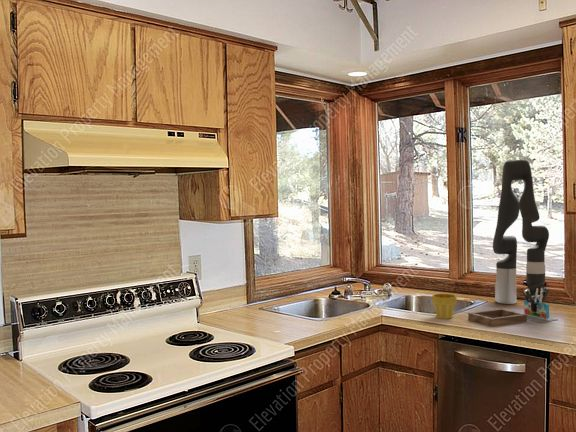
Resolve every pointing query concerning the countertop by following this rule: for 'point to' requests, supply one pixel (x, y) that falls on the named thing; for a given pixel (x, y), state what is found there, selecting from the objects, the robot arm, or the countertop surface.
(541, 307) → the snack box
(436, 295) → the plant pot
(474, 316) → the tray
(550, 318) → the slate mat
